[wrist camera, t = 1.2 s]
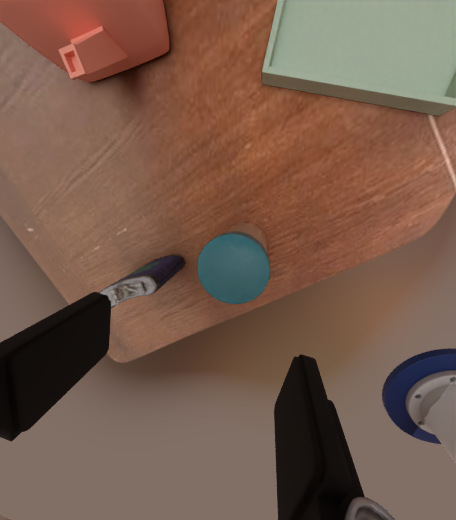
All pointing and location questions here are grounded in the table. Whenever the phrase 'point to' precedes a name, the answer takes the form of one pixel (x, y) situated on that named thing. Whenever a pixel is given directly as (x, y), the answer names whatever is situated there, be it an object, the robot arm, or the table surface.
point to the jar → (250, 232)
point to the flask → (144, 279)
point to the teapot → (90, 33)
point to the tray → (367, 51)
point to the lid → (234, 267)
